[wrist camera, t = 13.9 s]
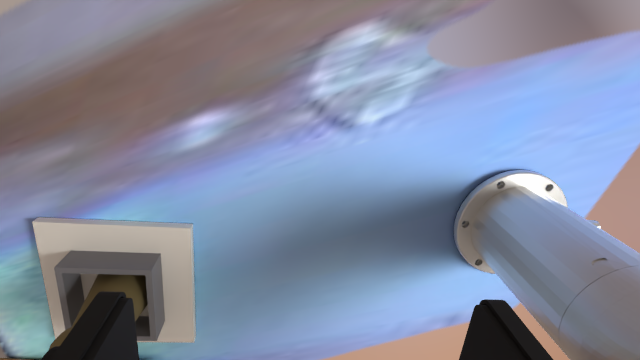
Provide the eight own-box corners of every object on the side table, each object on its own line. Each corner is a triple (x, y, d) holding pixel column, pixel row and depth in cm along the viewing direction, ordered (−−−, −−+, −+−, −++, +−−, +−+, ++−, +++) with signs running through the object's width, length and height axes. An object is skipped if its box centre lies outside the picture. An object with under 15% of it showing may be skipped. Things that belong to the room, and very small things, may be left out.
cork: (85, 293, 41) (18, 381, 30) (112, 252, 39) (51, 331, 29) (138, 317, 42) (91, 409, 32) (165, 280, 41) (126, 363, 31)
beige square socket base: (192, 223, 40) (183, 243, 36) (196, 336, 45) (188, 363, 42) (38, 217, 38) (11, 237, 34) (60, 334, 44) (39, 363, 40)
